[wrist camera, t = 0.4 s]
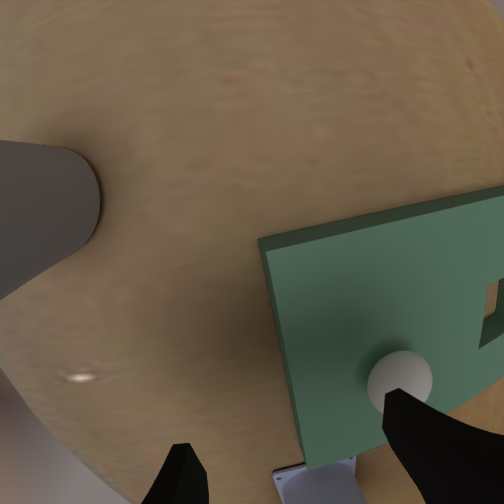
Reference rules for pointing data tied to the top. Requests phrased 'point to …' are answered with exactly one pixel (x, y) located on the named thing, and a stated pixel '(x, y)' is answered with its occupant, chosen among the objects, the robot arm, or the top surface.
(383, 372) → the ball
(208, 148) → the top surface
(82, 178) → the beverage can
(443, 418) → the robot arm
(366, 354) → the putting board
